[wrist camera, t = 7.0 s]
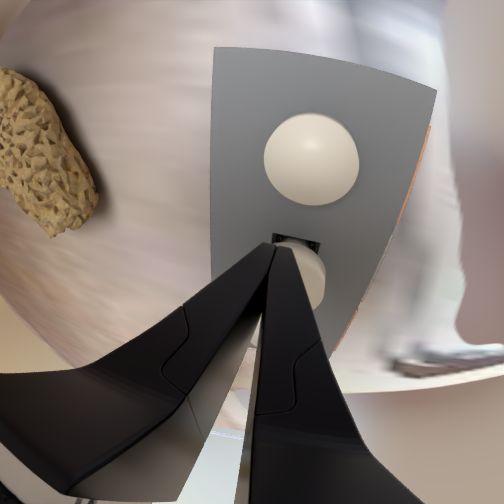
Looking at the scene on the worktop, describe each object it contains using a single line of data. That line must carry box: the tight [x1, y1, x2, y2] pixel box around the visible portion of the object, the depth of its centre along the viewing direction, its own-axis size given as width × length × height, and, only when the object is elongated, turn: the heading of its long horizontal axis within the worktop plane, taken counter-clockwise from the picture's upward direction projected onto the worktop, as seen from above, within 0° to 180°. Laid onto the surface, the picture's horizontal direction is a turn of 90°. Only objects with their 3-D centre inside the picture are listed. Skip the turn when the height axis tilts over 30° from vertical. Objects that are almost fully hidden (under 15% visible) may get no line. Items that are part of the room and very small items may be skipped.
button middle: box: [274, 236, 326, 309], centre depth 17 cm, size 4×4×4 cm
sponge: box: [0, 67, 99, 239], centre depth 18 cm, size 13×8×20 cm
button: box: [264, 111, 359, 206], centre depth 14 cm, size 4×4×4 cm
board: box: [210, 47, 437, 359], centre depth 19 cm, size 24×11×3 cm, turn 176°
